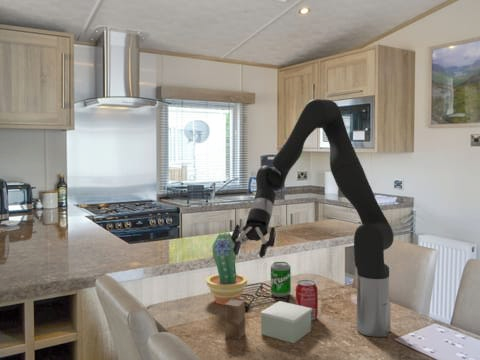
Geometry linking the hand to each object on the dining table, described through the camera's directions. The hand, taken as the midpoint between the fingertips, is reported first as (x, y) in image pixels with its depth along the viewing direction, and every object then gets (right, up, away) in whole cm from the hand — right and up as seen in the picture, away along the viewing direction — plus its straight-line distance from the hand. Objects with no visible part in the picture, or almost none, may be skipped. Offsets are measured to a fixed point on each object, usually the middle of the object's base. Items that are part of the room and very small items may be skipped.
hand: (248, 254), depth 137 cm
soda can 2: (+19, -22, +3) cm, 29 cm away
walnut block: (-4, -22, -9) cm, 25 cm away
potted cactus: (-7, -21, +21) cm, 30 cm away
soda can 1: (+13, -20, +27) cm, 36 cm away
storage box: (+11, -22, -7) cm, 26 cm away
